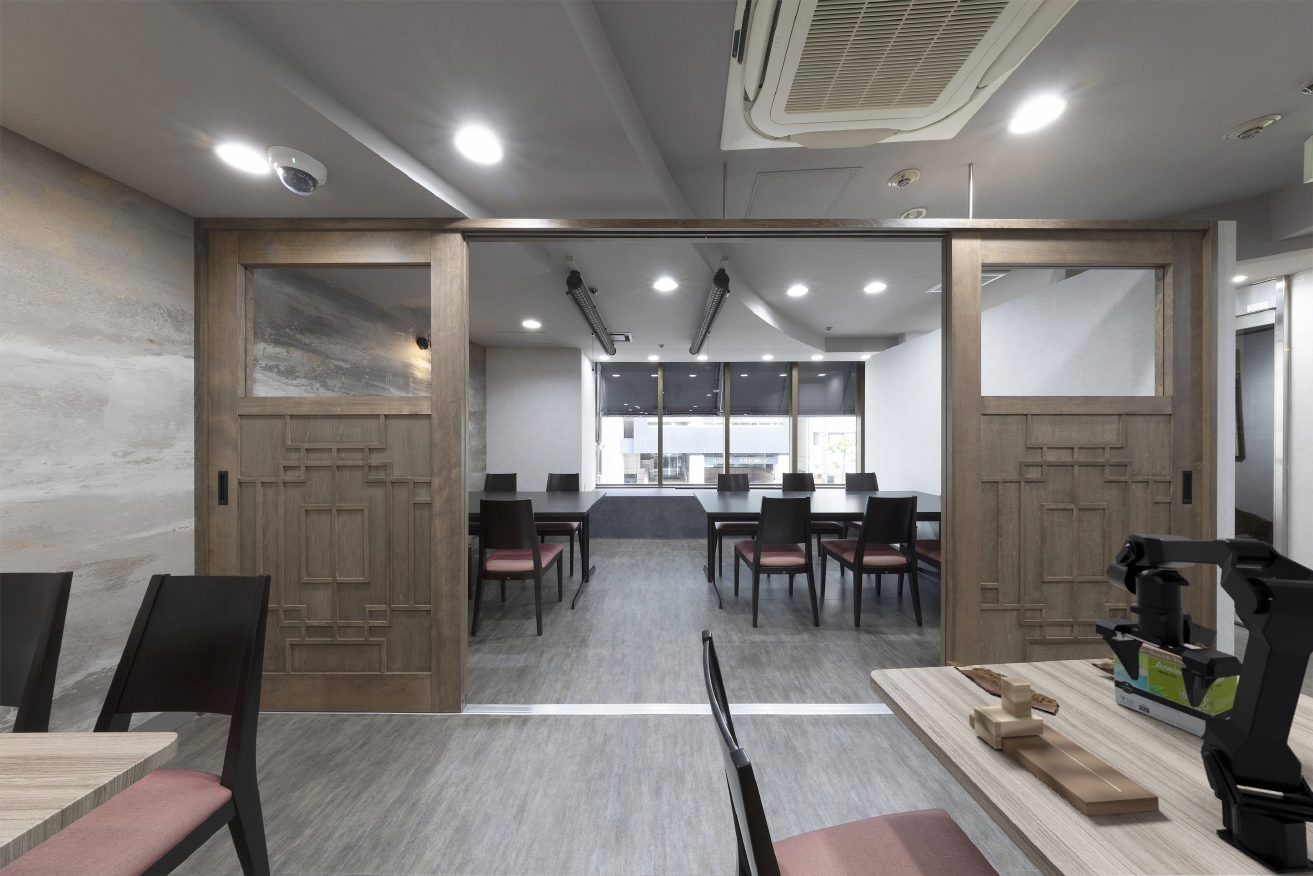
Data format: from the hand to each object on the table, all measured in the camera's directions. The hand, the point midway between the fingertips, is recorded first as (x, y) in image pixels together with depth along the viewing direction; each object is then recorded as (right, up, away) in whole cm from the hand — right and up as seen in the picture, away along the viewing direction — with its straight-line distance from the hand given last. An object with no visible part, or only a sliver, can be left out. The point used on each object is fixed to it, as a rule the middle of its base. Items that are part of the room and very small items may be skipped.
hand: (1163, 692), depth 83 cm
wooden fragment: (-10, -13, +27) cm, 32 cm away
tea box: (+16, -12, +13) cm, 24 cm away
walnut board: (-20, -12, 0) cm, 23 cm away
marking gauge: (-23, -12, +6) cm, 27 cm away
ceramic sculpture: (+25, -13, +28) cm, 39 cm away
